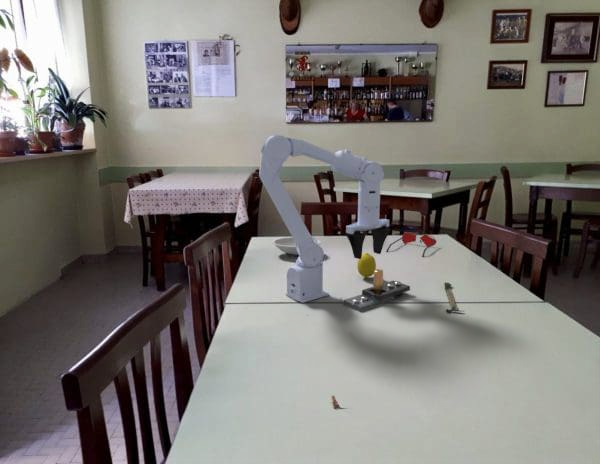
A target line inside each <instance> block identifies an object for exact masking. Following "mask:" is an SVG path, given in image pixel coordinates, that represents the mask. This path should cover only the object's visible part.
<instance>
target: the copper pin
mask: <svg viewBox="0 0 600 464" xmlns="http://www.w3.org/2000/svg"><path fill="white" fill-rule="evenodd" d="M383 283H384V269H381V268H380V269H377V268H376V269H375V270H374V274H373V286H372V287H373V293H376V294H380V293H382V290H383Z"/></svg>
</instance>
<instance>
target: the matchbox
mask: <svg viewBox="0 0 600 464" xmlns="http://www.w3.org/2000/svg"><path fill="white" fill-rule="evenodd" d="M330 397H331V398H330V399H331V402H330V404H332V408H333V409H336V410H338V409H341V406H340V404H339V403H338V401H337V399H336V396H335V395H332V394H331V396H330Z"/></svg>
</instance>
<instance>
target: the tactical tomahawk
mask: <svg viewBox="0 0 600 464" xmlns="http://www.w3.org/2000/svg"><path fill="white" fill-rule="evenodd" d="M444 290H445V294H446V297H447V299H448V303H449V305H450V308H449V309H448V308H446V309H445V312H446V314H455V315H466V313H464V312H465V310H462V312H461V310H460V309H459V308H458V307H457V305H456V302H455V298H454V294H453V291H452V284H451V283H449V282H446V281H445V282H444Z"/></svg>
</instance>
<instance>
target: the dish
mask: <svg viewBox="0 0 600 464" xmlns="http://www.w3.org/2000/svg"><path fill="white" fill-rule="evenodd" d="M315 239H316V240H317V242H318V244H319V245H321V243H322V242H321V240H319V239H317V238H315ZM271 243H272V244H273V245H274V246H276V249H278V250H280V251H282V252H283V253H285V254H291V255H294V256H296V257H297V255H298V256H299V254H298V253H297V251H296V243H295V241H294V239H293V237H292V236H290V237H289V236H287V237H278V238H276V239H273V240H271Z"/></svg>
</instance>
